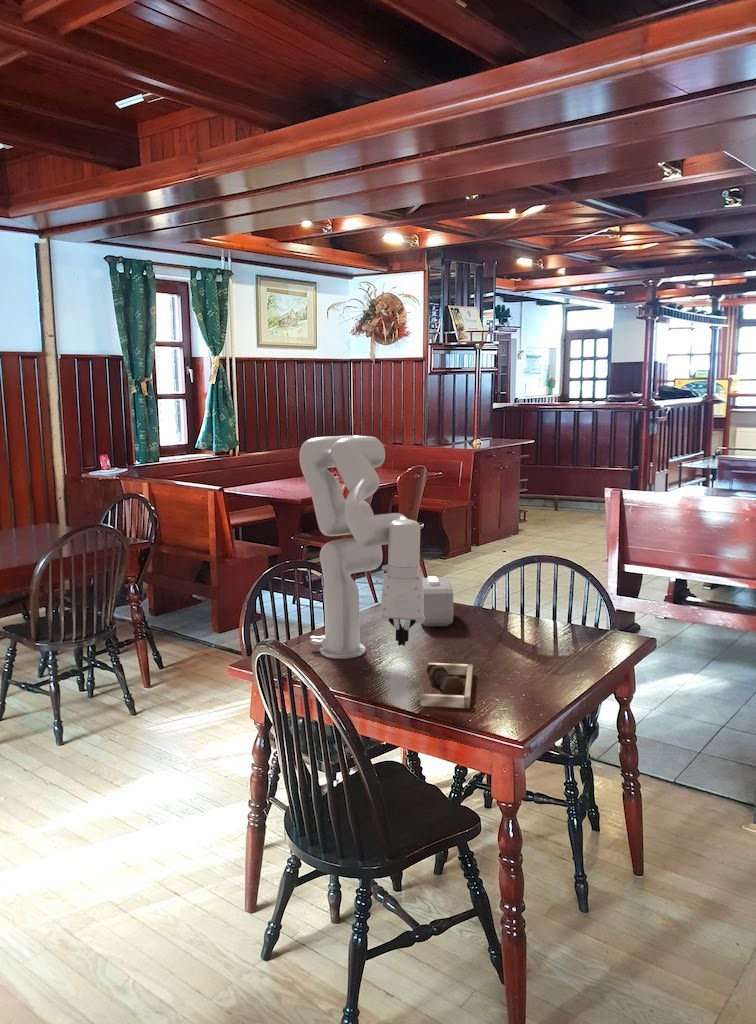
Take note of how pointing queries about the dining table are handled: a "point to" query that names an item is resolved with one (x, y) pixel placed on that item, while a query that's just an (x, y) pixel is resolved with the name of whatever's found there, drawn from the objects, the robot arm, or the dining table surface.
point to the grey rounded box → (437, 601)
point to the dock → (451, 700)
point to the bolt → (445, 680)
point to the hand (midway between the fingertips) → (402, 643)
